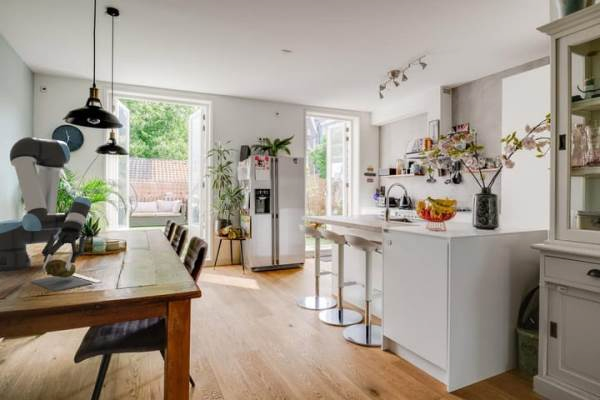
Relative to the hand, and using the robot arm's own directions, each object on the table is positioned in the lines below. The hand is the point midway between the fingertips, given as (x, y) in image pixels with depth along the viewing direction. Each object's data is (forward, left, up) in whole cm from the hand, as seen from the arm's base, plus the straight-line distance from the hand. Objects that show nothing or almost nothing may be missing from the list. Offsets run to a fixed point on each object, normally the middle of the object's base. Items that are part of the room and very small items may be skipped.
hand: (56, 269), depth 139 cm
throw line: (-2, +12, -6) cm, 14 cm away
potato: (-2, +3, -4) cm, 6 cm away
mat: (-2, +2, -6) cm, 7 cm away
